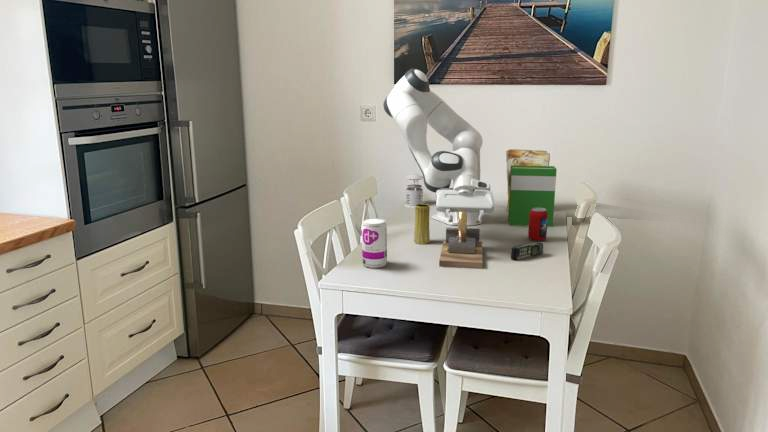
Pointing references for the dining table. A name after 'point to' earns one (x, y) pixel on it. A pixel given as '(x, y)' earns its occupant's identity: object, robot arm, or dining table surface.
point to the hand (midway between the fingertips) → (464, 221)
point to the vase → (422, 224)
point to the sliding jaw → (461, 237)
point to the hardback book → (531, 192)
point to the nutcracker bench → (461, 258)
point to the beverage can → (538, 224)
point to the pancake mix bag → (525, 161)
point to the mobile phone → (526, 250)
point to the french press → (413, 195)
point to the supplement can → (374, 243)
